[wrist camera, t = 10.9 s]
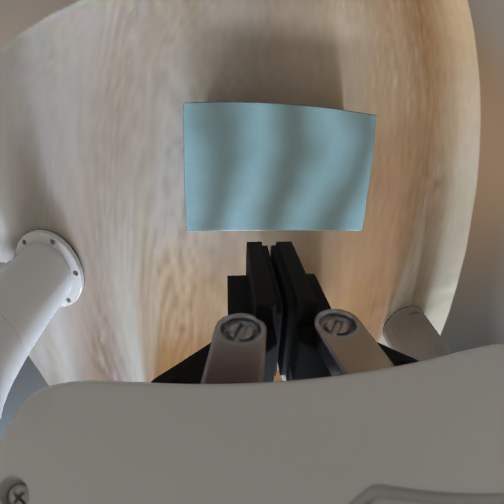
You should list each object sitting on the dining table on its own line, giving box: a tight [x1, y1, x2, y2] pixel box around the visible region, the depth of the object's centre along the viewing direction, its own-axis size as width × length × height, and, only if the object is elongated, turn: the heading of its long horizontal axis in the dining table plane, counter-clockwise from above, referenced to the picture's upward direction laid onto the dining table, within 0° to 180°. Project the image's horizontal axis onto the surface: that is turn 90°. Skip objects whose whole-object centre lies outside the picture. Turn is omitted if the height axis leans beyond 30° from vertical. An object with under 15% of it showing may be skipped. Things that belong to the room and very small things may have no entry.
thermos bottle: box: [383, 306, 452, 361], centre depth 34 cm, size 8×8×28 cm
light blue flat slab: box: [183, 102, 376, 231], centre depth 25 cm, size 16×11×1 cm
